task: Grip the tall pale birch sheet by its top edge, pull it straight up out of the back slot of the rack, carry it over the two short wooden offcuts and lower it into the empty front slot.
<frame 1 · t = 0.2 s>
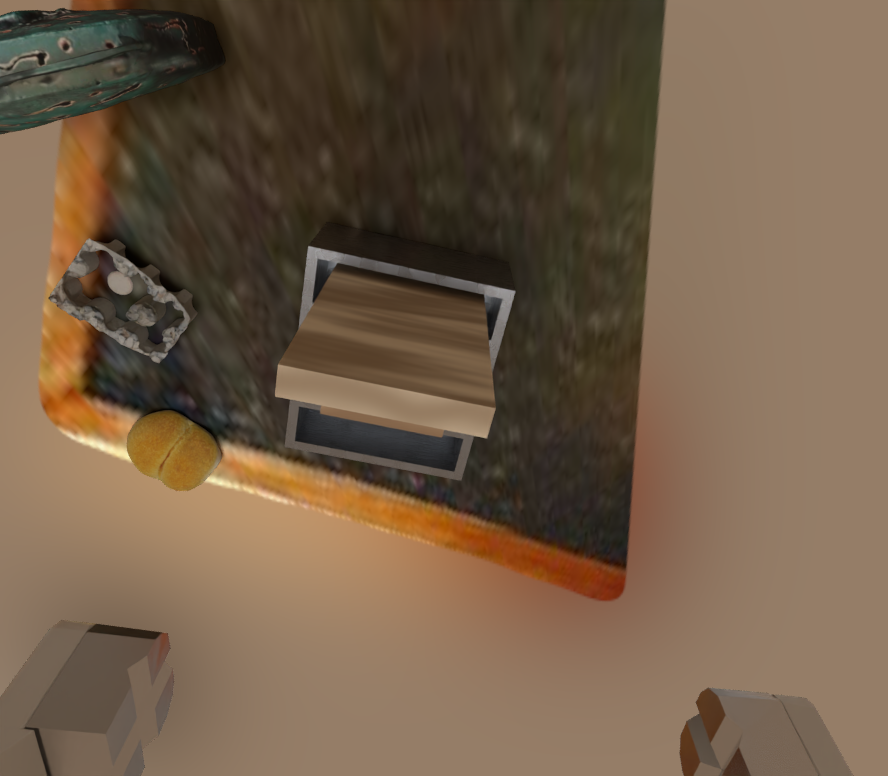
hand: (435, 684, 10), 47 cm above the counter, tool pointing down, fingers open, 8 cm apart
egg carton: (140, 291, 57), on the counter
rack: (399, 337, 58), on the counter
oak offcut: (394, 365, 58), point 1 cm above the counter, touching rack
birch sheet: (412, 276, 54), point 1 cm above the counter, touching rack
bread roll: (181, 443, 65), on the counter
ceramic cat: (109, 70, 48), on the counter
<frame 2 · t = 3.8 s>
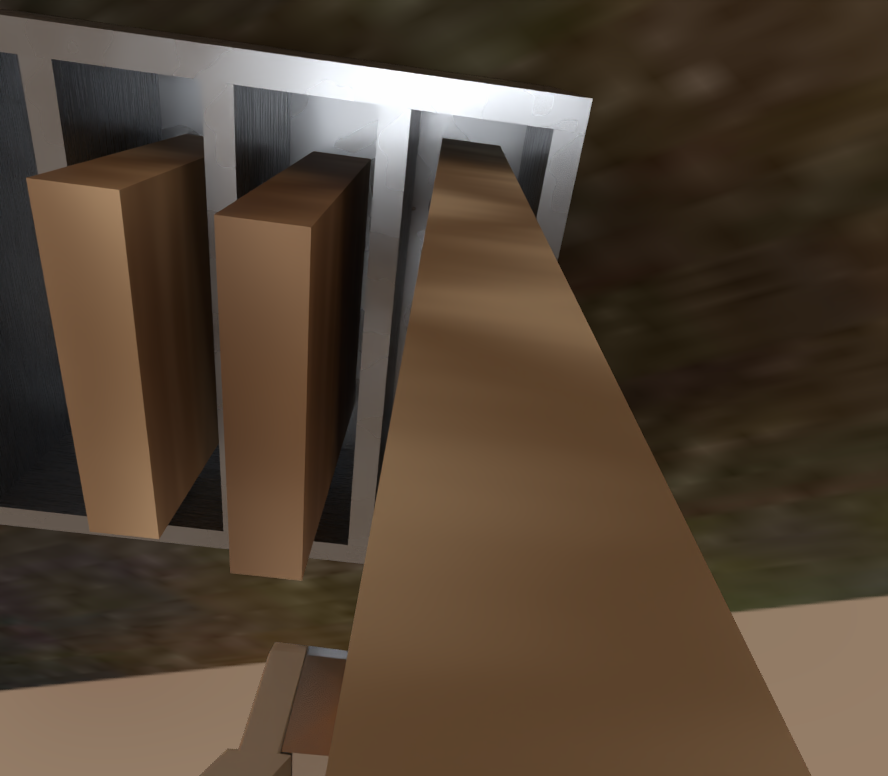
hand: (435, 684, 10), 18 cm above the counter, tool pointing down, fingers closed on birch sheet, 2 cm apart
walnut offcut: (335, 291, 24), point 1 cm above the counter, touching rack
rack: (288, 272, 25), on the counter
oak offcut: (220, 276, 24), point 1 cm above the counter, touching rack
birch sheet: (448, 305, 24), point 2 cm above the counter, touching gripper, rack
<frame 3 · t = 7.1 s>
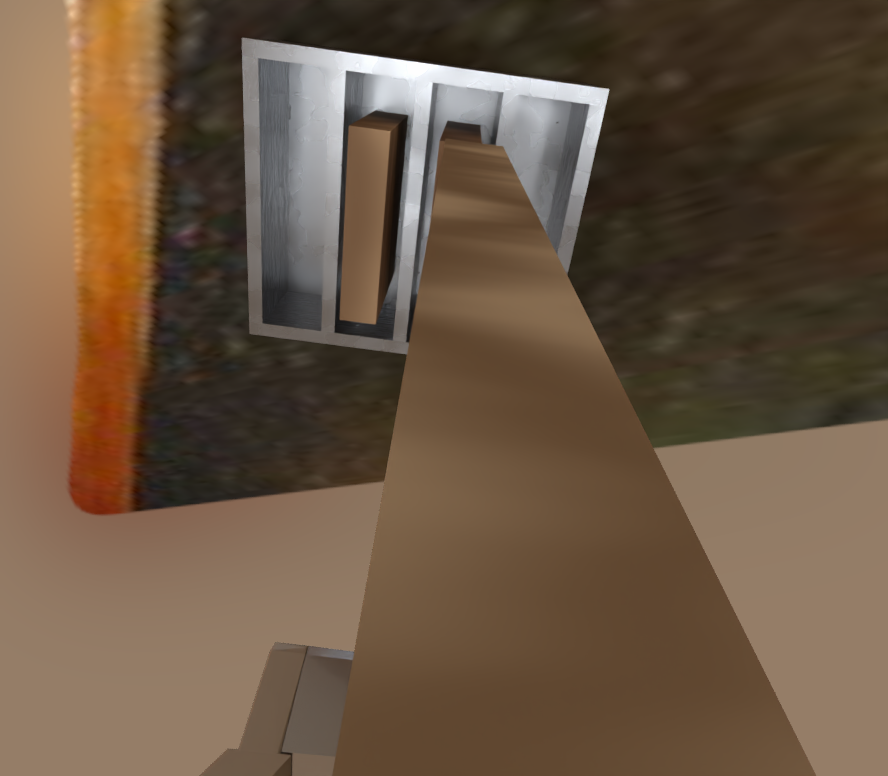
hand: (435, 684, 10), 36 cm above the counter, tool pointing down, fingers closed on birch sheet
walnut offcut: (453, 206, 40), point 1 cm above the counter, touching rack
rack: (420, 196, 41), on the counter
oak offcut: (385, 197, 40), point 1 cm above the counter, touching rack
birch sheet: (451, 305, 24), point 19 cm above the counter, touching gripper
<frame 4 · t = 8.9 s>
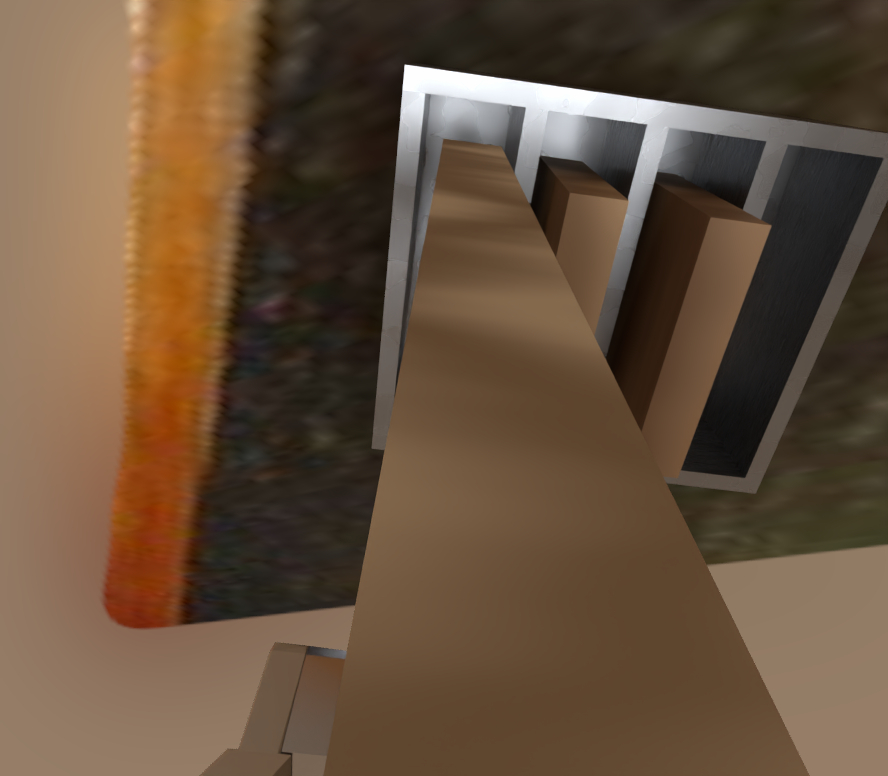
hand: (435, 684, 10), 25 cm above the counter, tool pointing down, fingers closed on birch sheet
walnut offcut: (626, 275, 31), point 1 cm above the counter, touching rack
rack: (577, 261, 32), on the counter
oak offcut: (539, 263, 31), point 1 cm above the counter, touching rack
birch sheet: (449, 306, 24), point 9 cm above the counter, touching gripper
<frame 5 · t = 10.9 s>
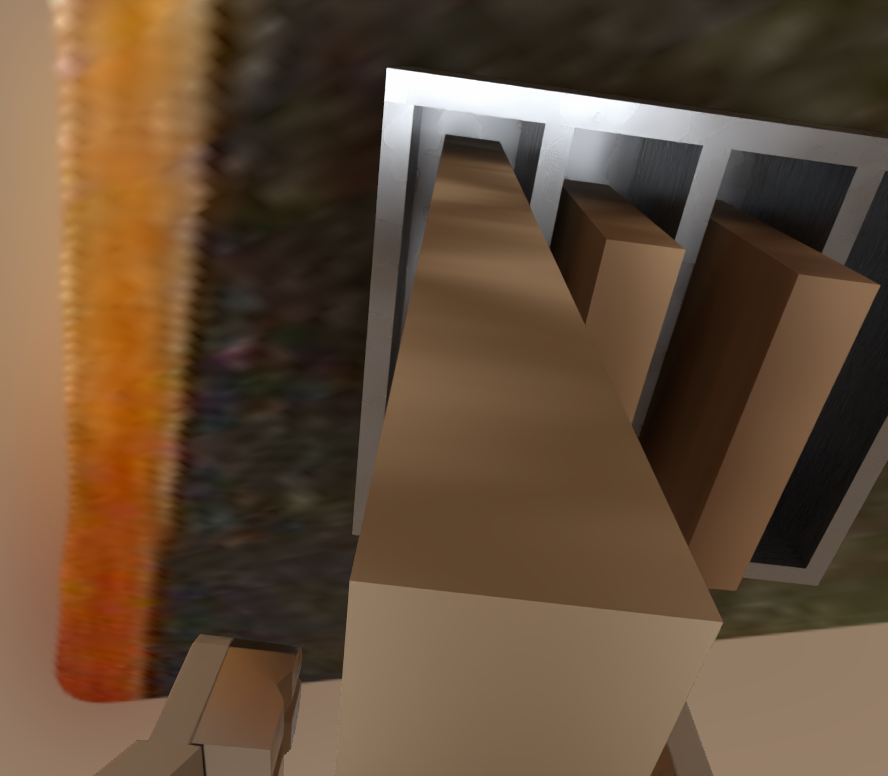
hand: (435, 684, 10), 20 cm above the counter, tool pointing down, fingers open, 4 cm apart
walnut offcut: (658, 319, 26), point 1 cm above the counter, touching rack
rack: (599, 300, 27), on the counter
oak offcut: (554, 306, 26), point 1 cm above the counter, touching rack
birch sheet: (451, 293, 26), point 2 cm above the counter, touching rack
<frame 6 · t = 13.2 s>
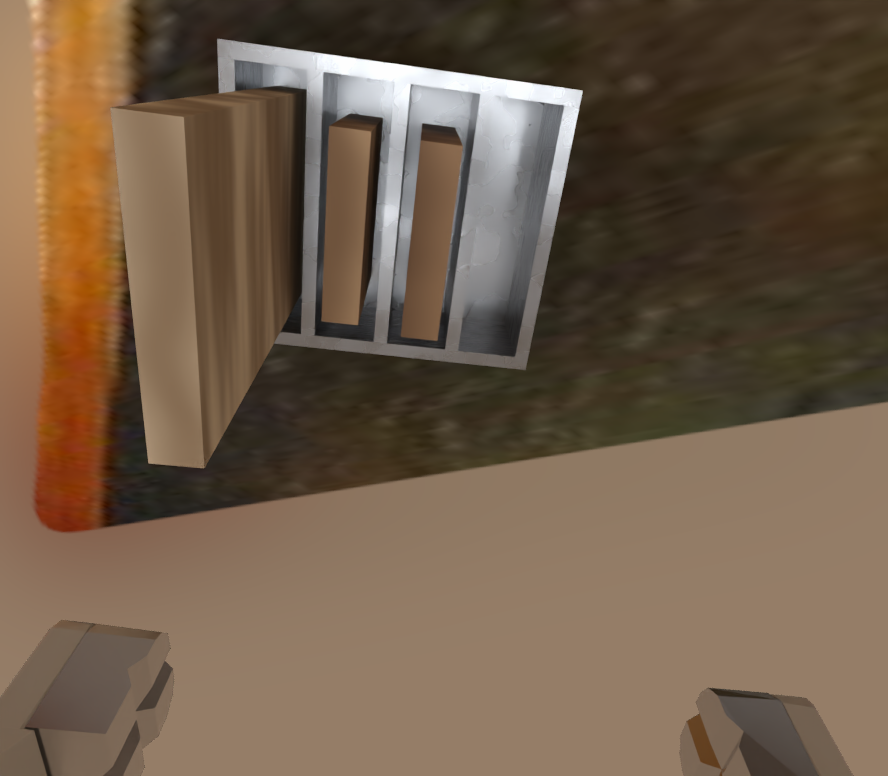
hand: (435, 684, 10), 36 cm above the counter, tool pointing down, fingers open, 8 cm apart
walnut offcut: (429, 208, 40), point 1 cm above the counter, touching rack
rack: (396, 199, 42), on the counter
oak offcut: (361, 199, 40), point 1 cm above the counter, touching rack
birch sheet: (293, 191, 40), point 1 cm above the counter, touching rack
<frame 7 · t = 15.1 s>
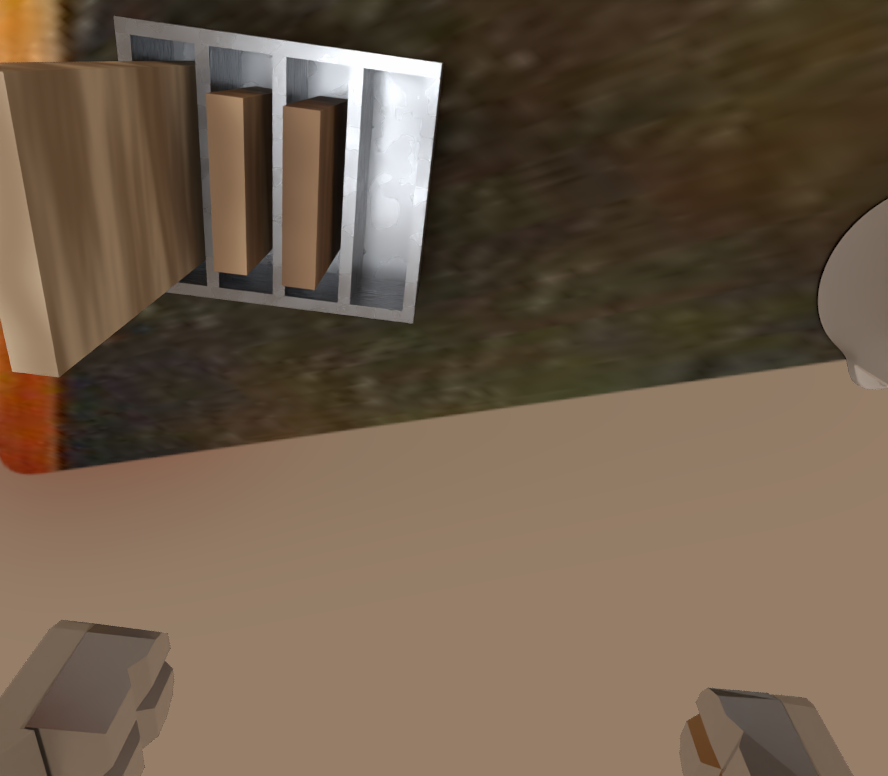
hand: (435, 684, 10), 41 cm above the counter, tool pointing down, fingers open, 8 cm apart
walnut offcut: (331, 174, 44), point 1 cm above the counter, touching rack
rack: (305, 167, 45), on the counter
oak offcut: (269, 166, 44), point 1 cm above the counter, touching rack
birch sheet: (208, 158, 44), point 1 cm above the counter, touching rack
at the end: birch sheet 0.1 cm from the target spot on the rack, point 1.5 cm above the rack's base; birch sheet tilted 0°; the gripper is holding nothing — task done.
